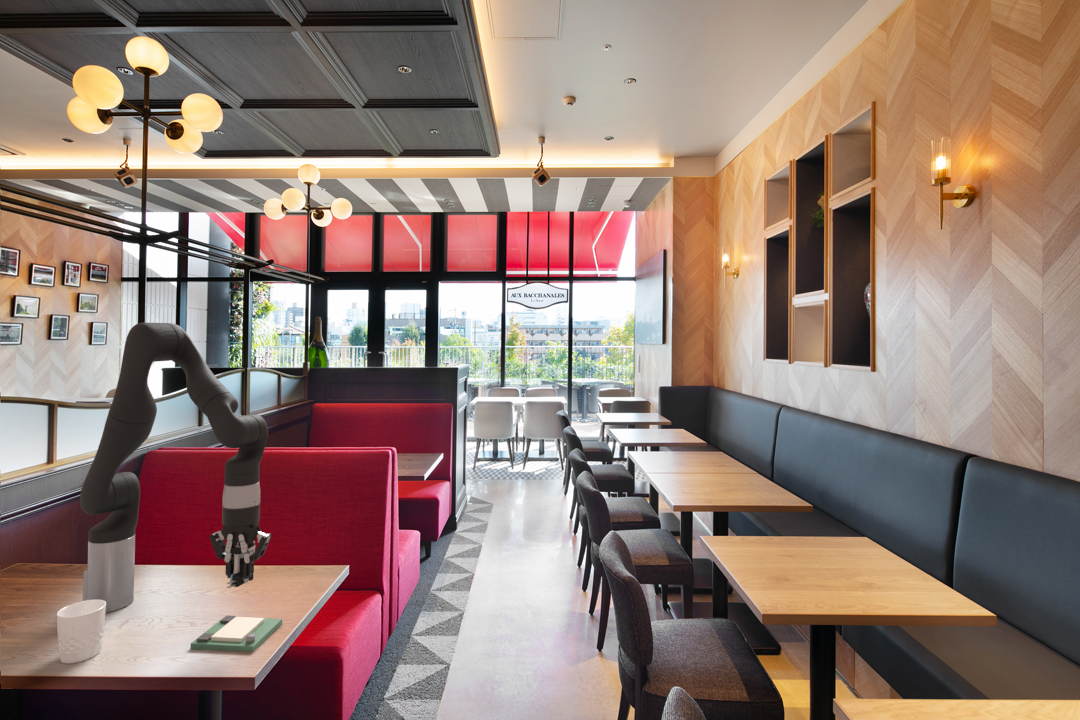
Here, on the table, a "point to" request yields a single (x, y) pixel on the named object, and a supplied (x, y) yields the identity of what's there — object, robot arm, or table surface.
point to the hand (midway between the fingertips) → (239, 576)
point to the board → (237, 634)
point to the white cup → (80, 630)
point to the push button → (238, 568)
